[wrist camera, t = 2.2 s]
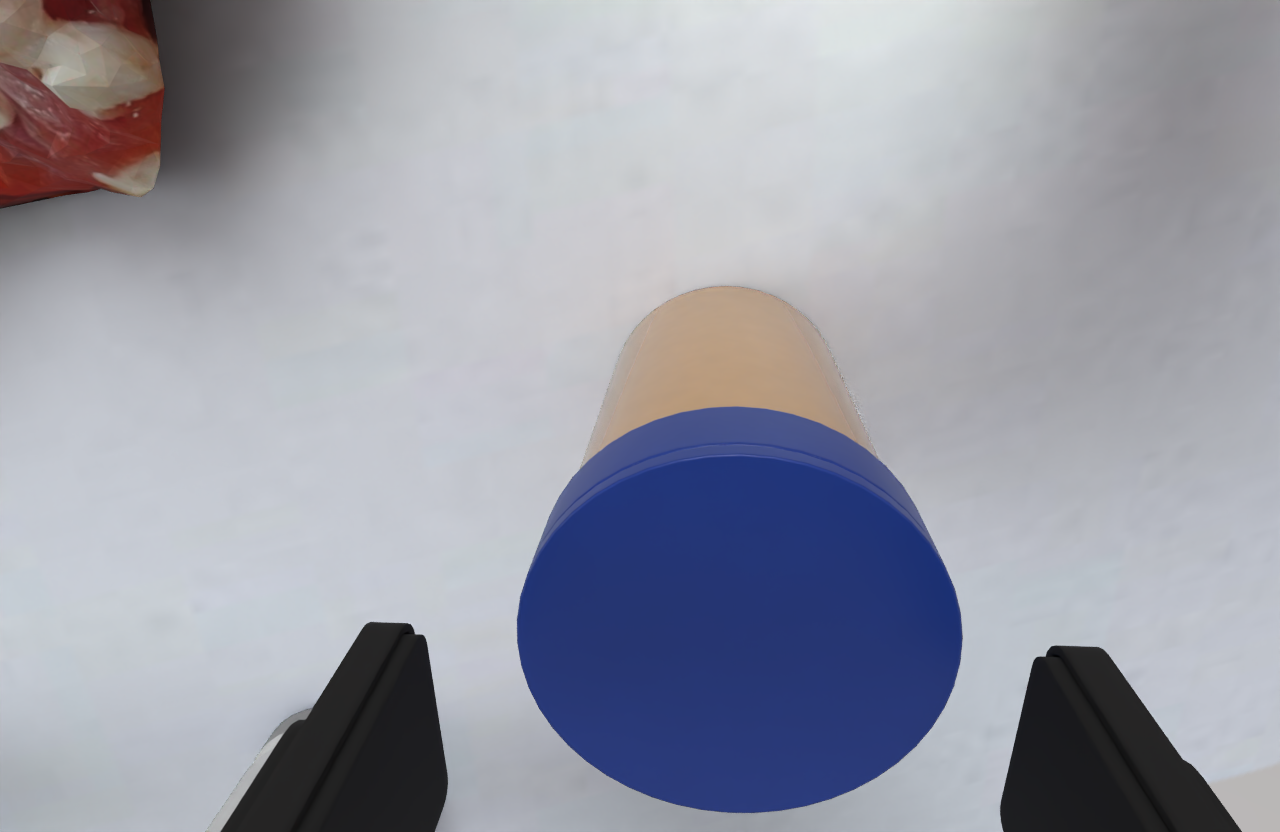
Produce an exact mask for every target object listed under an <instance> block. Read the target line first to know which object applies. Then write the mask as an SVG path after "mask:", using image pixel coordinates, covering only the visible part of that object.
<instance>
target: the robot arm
mask: <svg viewBox="0 0 1280 832" xmlns="http://www.w3.org/2000/svg"><path fill="white" fill-rule="evenodd" d="M447 787H448V777H447V769H446V763H445V756H444V750H443V743H442V737H441V731H440V724H439V718H438V711H437V705H436V698H435V692H434V686H433V679H432V673H431V666H430V660H429V653H428V647H427V642H426V638H425V637H424V635H416V634H415V633H414V629H413V627H412V626H411V624H408V623H381V622H370V623H367V624H366V625H365V626H364V627H363V629H362V630H361V632H360V633H359V635H358V637H357V638H356V640H355V641H354V643H353V645H352V646H351V648H350V649H349V651H348V653H347V654H346V656H345V657H344V659H343V661H342V662H341V664H340V665H339V667H338V669H337V670H336V672H335V673H334V675H333V677H332V678H331V680H330V681H329V683H328V685H327V686H326V688H325V690H324V691H323V693H322V694H321V696H320V698H319V699H318V701H317V702H316V704H315V706H314V707H313V709H312V710H311V712H310V714H309V715H308V717H307V718H306V720H297V721H296V722H294V723H293V724H291V725H290V726H289V728H288V729H287V730H286V731H285V733H284V734H283V735H282V737H281V738H280V740H279V741H278V743H277V744H276V746H275V748H274V749H273V751H272V752H271V754H270V755H269V757H268V758H267V760H266V762H265V763H264V765H263V766H262V768H261V769H260V771H259V772H258V774H257V776H256V777H255V779H254V780H253V782H252V783H251V785H250V786H249V788H248V790H247V791H246V793H245V794H244V796H243V797H242V799H241V800H240V802H239V804H238V805H237V807H236V808H235V810H234V811H233V813H232V814H231V816H230V817H229V819H228V821H227V822H226V824H225V825H224V827H223V828H222V830H221V831H220V832H435V829H436V826H437V824H438V821H439V818H440V815H441V812H442V810H443V807H444V803H445V800H446V795H447ZM1000 815H1001V823H1002V828H1003V831H1004V832H1242V831H1241V830H1240V828H1239V827H1238V826H1237V825H1236V823H1235V821H1234V820H1233V819H1232V817H1231V816H1230V814H1229V813H1228V812H1227V810H1226V809H1225V807H1224V806H1223V805H1222V803H1221V802H1220V801H1219V799H1218V798H1217V796H1216V795H1215V794H1214V792H1213V791H1212V789H1211V788H1210V787H1209V785H1208V784H1207V782H1206V781H1205V780H1204V778H1203V777H1202V776H1201V775H1200V773H1199V772H1198V771H1197V770H1196V769H1195V768H1194V767H1193V766H1192V765H1191V764H1189V763H1188V762H1186V761H1184V760H1183V759H1182V758H1181V756H1180V755H1179V754H1178V752H1177V751H1176V749H1175V748H1174V747H1173V745H1172V744H1171V742H1170V741H1169V740H1168V738H1167V737H1166V735H1165V734H1164V732H1163V731H1162V730H1161V728H1160V727H1159V725H1158V724H1157V723H1156V721H1155V720H1154V718H1153V717H1152V716H1151V714H1150V713H1149V711H1148V710H1147V708H1146V707H1145V706H1144V704H1143V703H1142V701H1141V700H1140V699H1139V697H1138V696H1137V694H1136V693H1135V692H1134V690H1133V689H1132V687H1131V686H1130V684H1129V683H1128V682H1127V680H1126V679H1125V677H1124V676H1123V675H1122V673H1121V672H1120V670H1119V669H1118V668H1117V666H1116V665H1115V663H1114V662H1113V660H1112V659H1111V658H1110V656H1109V655H1108V654H1107V653H1106V652H1105V651H1104V650H1103V649H1101V648H1099V647H1081V646H1052V647H1050V649H1049V650H1048V651H1047V654H1046V657H1036V659H1035V660H1034V662H1033V665H1032V669H1031V673H1030V677H1029V682H1028V686H1027V690H1026V695H1025V699H1024V704H1023V708H1022V712H1021V717H1020V721H1019V725H1018V730H1017V734H1016V738H1015V743H1014V747H1013V752H1012V756H1011V760H1010V765H1009V769H1008V773H1007V778H1006V782H1005V786H1004V791H1003V795H1002V800H1001V806H1000Z"/></svg>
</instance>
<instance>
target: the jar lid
mask: <svg viewBox="0 0 1280 832" xmlns="http://www.w3.org/2000/svg"><path fill="white" fill-rule="evenodd" d="M962 639H963V636H962V623H961V612H960V608H959V604H958V600H957V596H956V592H955V588H954V586H953V584H952V581H951V579H950V577H949V574H948V572H947V570H946V567H945V565H944V563H943V561H942V559H941V557H940V555H939V553H938V551H937V549H936V547H935V545H934V543H933V541H932V539H931V537H930V534H929V532H928V530H927V528H926V526H925V524H924V522H923V520H922V518H921V516H920V514H919V512H918V510H917V508H916V506H915V504H914V503H913V501H912V500H911V498H910V496H909V495H908V493H907V492H906V490H905V488H904V487H903V485H902V484H901V483H900V482H899V481H898V480H897V478H896V477H895V476H894V475H893V474H892V473H891V471H890V470H889V469H888V468H887V467H886V466H885V465H884V464H883V463H882V462H881V461H879V460H878V459H877V458H876V457H875V456H874V455H873V454H871V453H870V452H869V451H868V450H867V449H865V448H864V447H862V446H861V445H859V444H858V443H856V442H855V441H853V440H852V439H850V438H848V437H847V436H845V435H844V434H842V433H840V432H837V431H835V430H833V429H831V428H829V427H827V426H825V425H823V424H821V423H818V422H815V421H812V420H809V419H806V418H804V417H800V416H797V415H794V414H790V413H785V412H780V411H775V410H770V409H765V408H752V407H739V406H734V407H711V408H704V409H698V410H692V411H686V412H680V413H677V414H674V415H670V416H667V417H663V418H660V419H657V420H654V421H652V422H649V423H647V424H645V425H642V426H640V427H638V428H636V429H633V430H631V431H629V432H628V433H626V434H624V435H623V436H621V437H619V438H618V439H616V440H614V441H613V442H611V443H610V444H608V445H607V446H606V447H604V448H603V449H602V450H601V451H599V452H598V453H597V454H596V455H594V456H593V457H592V458H591V459H589V460H588V461H587V463H586V464H585V465H584V466H583V467H582V468H581V469H580V470H579V471H578V472H577V473H576V474H575V475H574V476H573V477H572V479H571V480H570V482H569V483H568V485H567V486H566V488H565V489H564V490H563V492H562V493H561V495H560V496H559V498H558V500H557V502H556V504H555V506H554V508H553V510H552V512H551V514H550V516H549V519H548V521H547V524H546V527H545V529H544V532H543V534H542V537H541V540H540V542H539V545H538V548H537V550H536V553H535V555H534V558H533V561H532V564H531V566H530V569H529V571H528V574H527V577H526V580H525V583H524V587H523V590H522V593H521V596H520V603H519V609H518V616H517V643H518V649H519V655H520V660H521V666H522V669H523V672H524V675H525V678H526V681H527V684H528V687H529V689H530V691H531V693H532V695H533V697H534V699H535V701H536V703H537V705H538V707H539V709H540V710H541V712H542V713H543V715H544V716H545V718H546V719H547V720H548V722H549V723H550V725H551V726H552V728H553V729H554V730H555V731H556V732H557V733H558V734H559V736H560V737H561V738H562V739H563V740H564V741H565V742H566V743H567V744H568V746H570V747H571V748H572V749H573V750H574V751H575V752H576V753H578V754H579V755H580V756H581V757H582V758H583V759H584V760H586V761H587V762H588V763H590V764H591V765H593V766H594V767H595V768H597V769H598V770H600V771H601V772H603V773H604V774H606V775H607V776H609V777H611V778H613V779H614V780H616V781H618V782H620V783H622V784H624V785H625V786H627V787H629V788H632V789H634V790H636V791H639V792H641V793H643V794H646V795H648V796H651V797H653V798H657V799H660V800H663V801H666V802H670V803H673V804H676V805H681V806H686V807H691V808H696V809H700V810H708V811H718V812H727V813H759V812H771V811H781V810H787V809H792V808H798V807H804V806H808V805H811V804H815V803H818V802H822V801H825V800H829V799H832V798H834V797H837V796H839V795H842V794H844V793H847V792H849V791H852V790H854V789H856V788H858V787H860V786H862V785H863V784H865V783H867V782H869V781H871V780H873V779H875V778H877V777H878V776H879V775H881V774H882V773H884V772H885V771H887V770H888V769H890V768H891V767H892V766H894V765H895V764H897V763H898V762H899V761H900V760H901V759H902V758H904V757H905V756H906V755H907V754H908V753H909V752H910V751H911V750H912V749H914V748H915V747H916V746H917V744H918V743H919V742H920V741H921V740H922V739H923V737H924V736H925V735H926V734H927V733H928V732H929V730H930V729H931V728H932V727H933V725H934V723H935V722H936V720H937V719H938V717H939V716H940V714H941V712H942V711H943V709H944V708H945V705H946V703H947V701H948V699H949V696H950V694H951V692H952V689H953V687H954V684H955V680H956V677H957V673H958V669H959V665H960V660H961V650H962Z"/></svg>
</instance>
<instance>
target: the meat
mask: <svg viewBox="0 0 1280 832" xmlns="http://www.w3.org/2000/svg"><path fill="white" fill-rule="evenodd" d="M164 90H165V88H164V83H163V77H162V72H161V67H160V61H159V52H158V44H157V37H156V31H155V25H154V19H153V14H152V8H151V2H150V0H0V209H1V208H5V207H10V206H15V205H20V204H25V203H30V202H35V201H40V200H45V199H49V198H54V197H59V196H64V195H71V194H78V193H86V192H91V191H94V190H98V189H103V190H107V191H110V192H114V193H120V194H125V195H131V196H137V197H142V196H144V195H145V194H146V193H148V192H149V191H150V190H152V189H153V188H154V185H155V182H156V178H157V175H158V171H159V168H160V149H161V119H162V109H163V99H164Z"/></svg>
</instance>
